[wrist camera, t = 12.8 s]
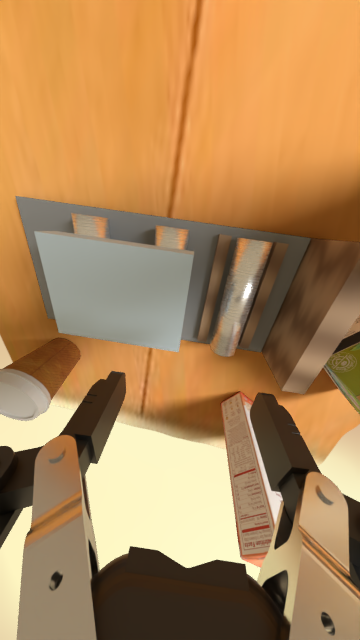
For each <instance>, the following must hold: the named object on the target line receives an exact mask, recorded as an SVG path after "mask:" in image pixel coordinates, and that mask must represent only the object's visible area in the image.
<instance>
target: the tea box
mask: <svg viewBox="0 0 360 640" xmlns="http://www.w3.org/2000/svg"><path fill="white" fill-rule="evenodd" d="M323 368H324V370H325V371H326V372H327V374H328V375H329V376H330V378H331V379H332V381H333V382H334V383H335V385H336V386H337V387H338V389H339V390H340V392H341V393H342V394H343V395H344V396H345V398H346V399H347V400H348V401H349V402H350V404H351V405H352V406H353V407H354V408H355V409H356V411H357V412H358V413H359V414H360V315H359V316H358V318H357V319H356V320H355V322H354V323H353V325H352V326H351V328H350V329H349V331H348V332H347V333H346V335H345V336H344V338H343V339H342V341H341V342H340V344H339V345H338V346H337V348H336V349H335V351H334V352H333V354H332V355H331V357H330V358H329V359H328V361H327V362H326V364H325V365H324V367H323Z"/></svg>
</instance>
